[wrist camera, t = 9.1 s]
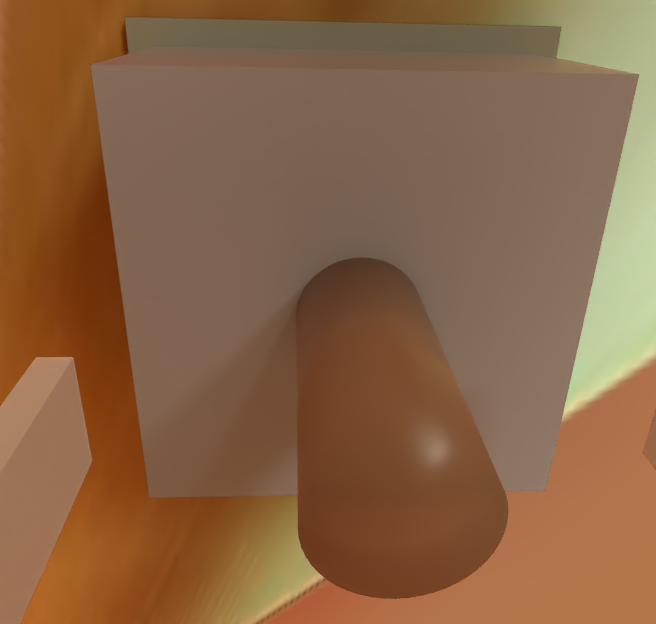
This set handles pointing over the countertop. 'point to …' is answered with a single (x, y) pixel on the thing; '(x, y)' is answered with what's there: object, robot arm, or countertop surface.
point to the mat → (340, 35)
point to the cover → (358, 283)
